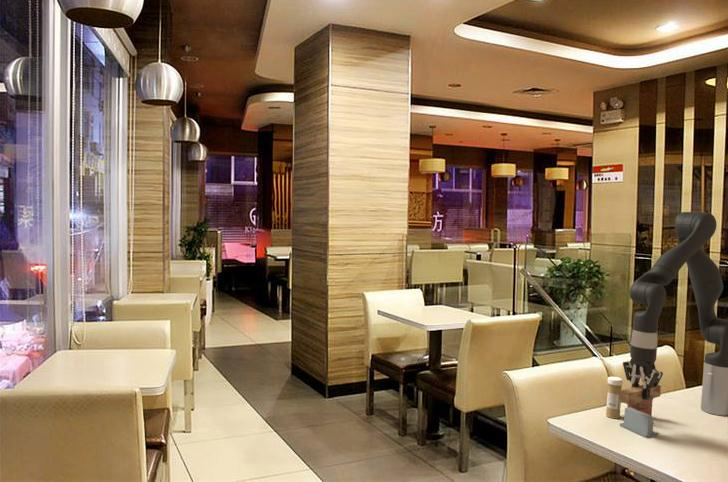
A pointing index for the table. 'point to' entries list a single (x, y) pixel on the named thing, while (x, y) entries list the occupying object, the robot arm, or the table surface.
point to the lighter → (643, 406)
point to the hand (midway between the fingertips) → (640, 397)
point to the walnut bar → (638, 394)
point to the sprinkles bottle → (614, 397)
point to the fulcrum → (638, 422)
